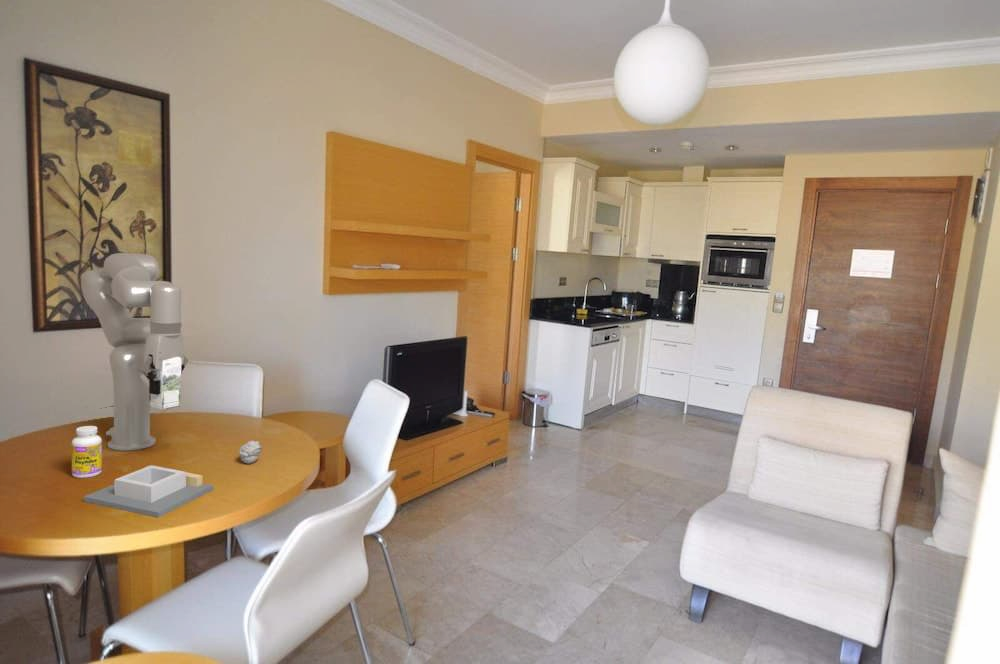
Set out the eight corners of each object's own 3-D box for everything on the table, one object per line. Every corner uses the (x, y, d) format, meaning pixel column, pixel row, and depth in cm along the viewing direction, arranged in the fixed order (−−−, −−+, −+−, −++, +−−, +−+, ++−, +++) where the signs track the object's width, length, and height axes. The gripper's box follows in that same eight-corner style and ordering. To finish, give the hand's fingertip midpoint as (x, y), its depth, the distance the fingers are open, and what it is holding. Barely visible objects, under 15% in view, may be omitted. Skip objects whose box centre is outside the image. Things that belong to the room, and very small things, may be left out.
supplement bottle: (69, 480, 154) (68, 432, 153) (74, 471, 160) (73, 425, 159) (100, 477, 158) (99, 431, 156) (103, 468, 163) (103, 423, 162)
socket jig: (83, 501, 143) (83, 480, 142) (144, 476, 160) (144, 457, 160) (158, 517, 138) (158, 496, 137) (213, 489, 155) (213, 470, 155)
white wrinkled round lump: (250, 468, 171) (250, 445, 170) (233, 463, 174) (233, 440, 173) (266, 462, 177) (267, 440, 176) (249, 457, 180) (250, 435, 179)
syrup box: (167, 402, 170) (168, 353, 168) (181, 406, 168) (181, 357, 166) (148, 406, 165) (148, 356, 163) (162, 410, 163) (162, 359, 161)
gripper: (178, 324, 173) (177, 383, 175) (127, 330, 156) (127, 395, 158) (199, 326, 171) (198, 386, 173) (151, 333, 154) (150, 399, 157)
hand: (164, 390), depth 166 cm, fingers closed on syrup box, 6 cm apart
